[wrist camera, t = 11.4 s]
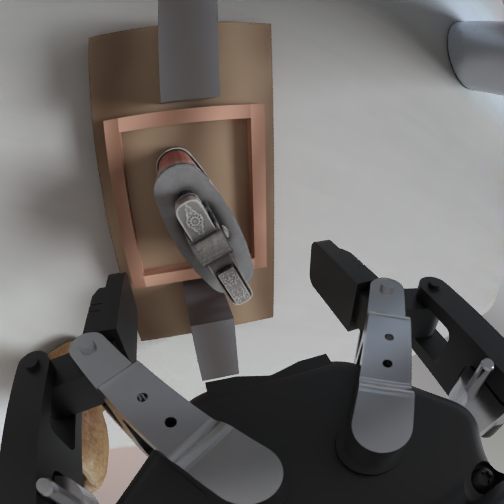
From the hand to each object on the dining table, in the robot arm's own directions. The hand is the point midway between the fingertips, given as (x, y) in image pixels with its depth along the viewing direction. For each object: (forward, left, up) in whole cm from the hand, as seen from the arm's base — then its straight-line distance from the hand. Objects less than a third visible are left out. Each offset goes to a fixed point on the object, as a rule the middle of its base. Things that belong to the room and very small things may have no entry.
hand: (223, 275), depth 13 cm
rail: (0, 0, -13) cm, 13 cm away
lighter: (0, 0, -11) cm, 11 cm away
